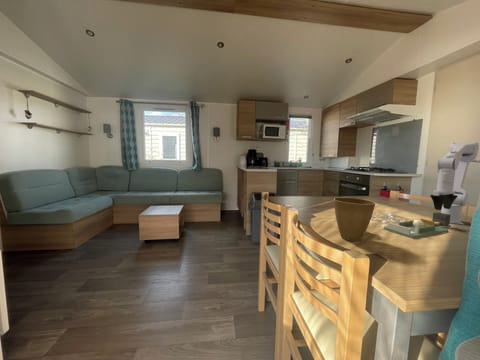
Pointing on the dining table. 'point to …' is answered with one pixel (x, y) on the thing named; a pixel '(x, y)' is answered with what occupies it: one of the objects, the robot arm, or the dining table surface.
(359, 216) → the plant pot
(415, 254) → the dining table surface
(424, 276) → the dining table surface
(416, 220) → the ball
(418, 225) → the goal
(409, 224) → the green long flat piece
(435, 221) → the block ended dumbbell
